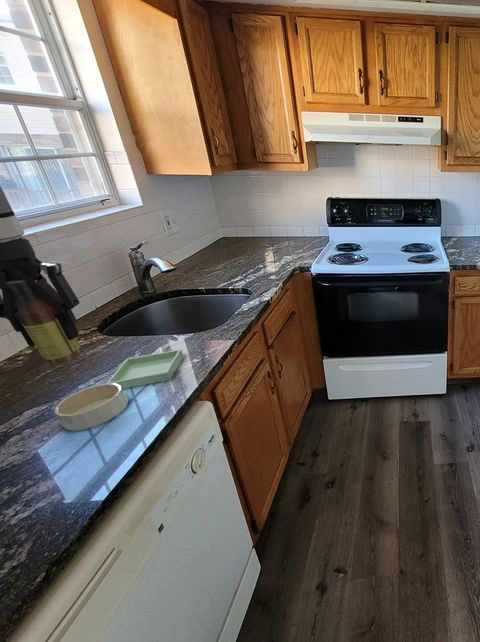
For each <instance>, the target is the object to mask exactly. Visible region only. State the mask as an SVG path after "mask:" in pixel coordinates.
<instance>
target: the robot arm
mask: <svg viewBox="0 0 480 642" xmlns="http://www.w3.org/2000/svg"><path fill="white" fill-rule="evenodd" d="M24 235H25V231H24V229H23V226H22V225H21V223H20V221H19V218H18V217H17V215H16V214H15V212H14V210H13V208H12V206H11V204H10V202H9V200H8V198H7V196H6V194H5V192H4V190H3V188H2V186H1V185H0V290H1V294H0V319H1V318H2V319H6V320H8V321H9V323H10V325H11V326H12V328H13V330H14V331H15V332H16V333H20V334H21V336H22V337H23V338H24V341H25V342H26V344H27V345H28V347H31V346H35V344H34V342H33V341H32V339H31V337H30V336H29V334H28V333H27V331H26V329H25V328H24V326H23V325H22V323H21V322H20V319H19V315H18V304H17V300H16V298H15V296H14V294H13V293H12V291H11V290H10V289H9V288H8V287H7V285H6V282H9V281H17V280H23V281H25V282H26V283H27V285H28V286H30V287H31V288H34V289H35V290H36V291H37V292H38V293H39V294H40V295H42V296H43V297H44V298H45V299H46V300H47V301H48V302H49V303H50V304H51V305H52V306H53V307H54V308H55V309H56V310H57V311H58V312H57V313H56V314H55V316H56V318H57V319H58V321H59V323H60V325H61V327H62V329H63V331H64V332H65V334H66V336H67V338H68V340H73V339H74V338H77V337H78V336H79V335H80V333H79V331H78V329H77V327H76V325H75V323H77V318H76V316H75V314H74V312H73V310H72V309H74V308H76V307H77V306H78V305H79V304H81V303H80V300H79V298H78V296H77V295H76V294H75V292H74V290H73V288H72V287H71V285H70V284H69V282H68V281H67V279H66V277H65V275H64V274H63V271H62V270H63V269H62V265H61V263H59V262H54V263H45V262H44V263H43V262H42V261H41V260H39V258H37V256H36V251H35V249H34V247H33V245H32V244H31V242H30V240H29V238H28V237H26V236H24ZM42 271H43V273H44V274H45V275H47V277H48V279H47V278H46V277H45V276H44V275H43V274H42V273H41V272H42ZM48 280H49V282H50V283H51V284H52V285H51V284H50V283H48Z"/></svg>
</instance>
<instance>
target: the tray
mask: <svg viewBox="0 0 480 642" xmlns="http://www.w3.org/2000/svg"><path fill="white" fill-rule="evenodd" d="M184 357H185V355H184V353H183V350H182V349H181V348H180V349H176V350H174V349H173V350H169V351H164V352H163V351H162V352H158V353H151V354H146V355H141V356H134V357H129V358H126V359H125V360H124V362H123V363H122V364H121V365H120V366H119V368H117V370H116V371H115V372H114V373H113V375H112V376H111V377H110V378H109V379H108V380H107V382H106V383H116V384H118V385H120V386H121V387H122V389H123V390H124V389H130V388H133V387H134V388H135V387H140V386H145V385H150V384H154V383H160V382H165V381H171V379H172V377H173V376H174V374H175V372H176V370H177V369H178V367H179V365H180V363H181V362H182V360H183V358H184Z"/></svg>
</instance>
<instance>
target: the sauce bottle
mask: <svg viewBox="0 0 480 642" xmlns="http://www.w3.org/2000/svg"><path fill="white" fill-rule="evenodd" d="M6 285H7V287H8V288H9V289H10V290H11V291H12V293H13V294H14V296H15V298H16V300H17V304H18V315H19V319H20V322H21V323H22V325H23V326H24V328H25V329H26V331H27V333H28V334H29V336H30V337H31V339H32V341H33V342H34V346H35V348H36V349H37V351H38V352H39V354H40V356H41V357H42V358H43V359H44V360H45V361H46V362H47V363H48V364H50V365H61V364H65V363H67V362H71V361H72V360H76V359H77V358H79V357H80V356H81V355H82V353H83V350H82V348H81V345H80V343H79V342H78V340H77V337H75V338H74V339H73V340H68V338H67V336H66V334H65V332H64V331H63V329H62V327H61V325H60V323H59V321H58V319H57V318H56V316H55V314H56V313H57V312H58V311H57V310H56V309H55V308H54V307H53V306H52V305H51V304H50V303H49V302H48V301H47V300H46V299H45V298H44V297H43V296H42V295H40V294H39V293H38V292H37V291H36V290H35V289H34V288H31V287H30V286H28V285H27V283H26V282H25V281H23V280H17V281H9V282H6Z"/></svg>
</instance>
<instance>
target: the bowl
mask: <svg viewBox="0 0 480 642" xmlns="http://www.w3.org/2000/svg"><path fill="white" fill-rule="evenodd" d="M128 404H129V401H128V397H127V395H126V393H125V391H124V389H122V387H121V386H120V385H118V384H116V383H107V382H106V383H101V384H95V385H91V386H89V387H86V388H83V389H80V390H79V391H76V392H74V393H72V394H70V395H69V396H67V397H66V398H64V399H62V400H61V401H60V402H59V403H58V404H57V405H56V406H55V407H54V414H55V417H56V418H57V420H58V421H59V423H60V425H61V426H62V427H63V428H64V429H65V430H67V431H73V432H74V431H75V432H76V431H82V430H88V429H91V428H94V427H98V426H99V425H102V424H104V423H106V422H108V421H110V420H112V419H113V418H115V417H117V416H119V414H121V413H122V412H123V411H124V410H125V409H126V408H127V407H128Z"/></svg>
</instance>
